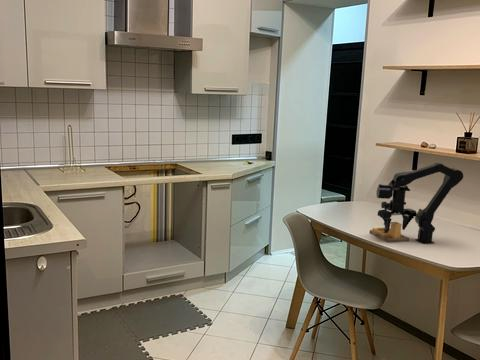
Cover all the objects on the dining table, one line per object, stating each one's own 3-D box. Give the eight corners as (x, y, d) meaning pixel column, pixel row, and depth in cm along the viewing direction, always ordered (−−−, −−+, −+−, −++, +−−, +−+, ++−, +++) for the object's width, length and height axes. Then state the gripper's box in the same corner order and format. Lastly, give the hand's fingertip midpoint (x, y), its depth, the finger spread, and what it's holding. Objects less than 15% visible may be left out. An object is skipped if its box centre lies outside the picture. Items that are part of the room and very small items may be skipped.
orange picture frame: (372, 230, 241) (373, 217, 240) (388, 229, 244) (390, 216, 243) (388, 238, 228) (390, 224, 227) (406, 237, 231) (407, 223, 230)
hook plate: (409, 241, 231) (410, 229, 229) (388, 242, 227) (389, 230, 226) (389, 231, 245) (390, 220, 244) (369, 232, 242) (370, 221, 241)
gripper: (404, 195, 239) (401, 224, 241) (372, 196, 233) (369, 226, 236) (418, 200, 228) (415, 231, 231) (385, 201, 222) (382, 233, 225)
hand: (395, 230), depth 231 cm, fingers open, 9 cm apart
